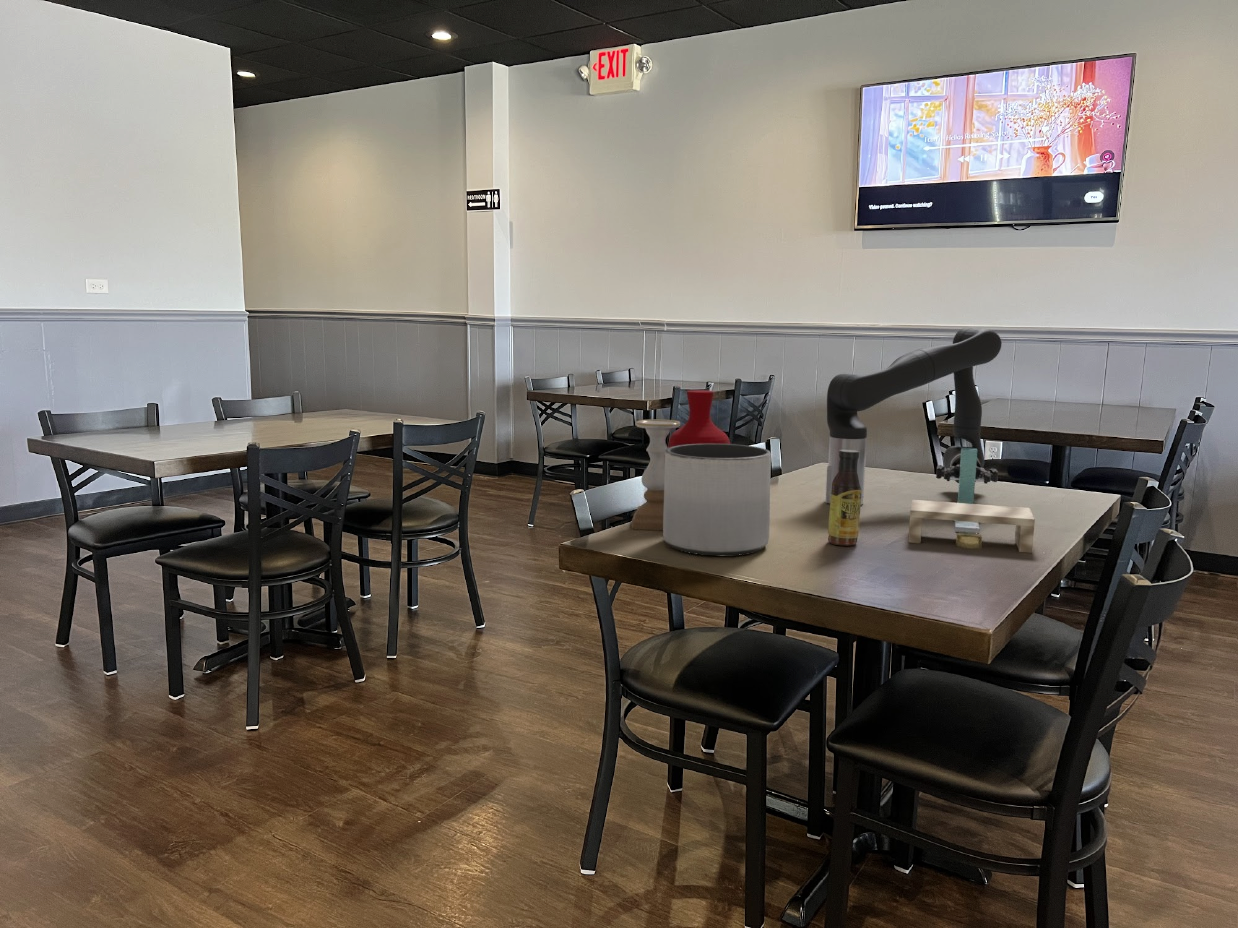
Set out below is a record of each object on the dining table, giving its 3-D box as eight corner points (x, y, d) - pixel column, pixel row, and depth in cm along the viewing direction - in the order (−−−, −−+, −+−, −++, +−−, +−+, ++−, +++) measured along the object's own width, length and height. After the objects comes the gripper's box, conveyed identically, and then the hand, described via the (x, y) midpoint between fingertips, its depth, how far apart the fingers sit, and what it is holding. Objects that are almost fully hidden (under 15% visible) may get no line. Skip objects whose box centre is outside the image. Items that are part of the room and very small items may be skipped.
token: (956, 548, 183) (956, 536, 183) (955, 542, 188) (956, 531, 188) (982, 550, 182) (982, 538, 181) (980, 544, 186) (981, 533, 186)
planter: (705, 564, 169) (708, 461, 166) (642, 540, 188) (643, 447, 185) (791, 549, 181) (794, 453, 178) (723, 528, 199) (725, 440, 196)
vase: (674, 506, 222) (676, 388, 217) (733, 510, 218) (736, 389, 213) (660, 518, 208) (662, 392, 203) (722, 523, 204) (725, 394, 199)
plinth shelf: (908, 542, 187) (910, 510, 186) (910, 530, 199) (912, 499, 197) (1032, 552, 179) (1034, 519, 178) (1026, 539, 191) (1029, 507, 189)
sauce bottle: (841, 548, 182) (845, 453, 179) (821, 541, 187) (825, 449, 184) (865, 544, 185) (870, 451, 182) (844, 538, 190) (849, 447, 187)
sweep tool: (955, 532, 197) (960, 461, 194) (953, 511, 219) (958, 447, 216) (979, 533, 195) (984, 462, 193) (975, 512, 217) (980, 448, 215)
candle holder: (681, 520, 207) (683, 419, 203) (679, 531, 196) (681, 424, 192) (635, 519, 208) (635, 418, 204) (631, 529, 197) (631, 424, 194)
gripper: (937, 452, 231) (937, 461, 216) (996, 455, 226) (1000, 464, 211) (935, 480, 232) (935, 491, 217) (994, 484, 227) (997, 495, 212)
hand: (967, 478), depth 214 cm, fingers open, 8 cm apart
